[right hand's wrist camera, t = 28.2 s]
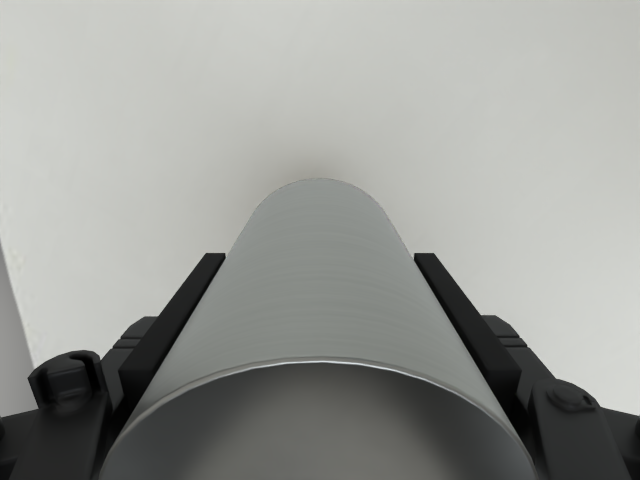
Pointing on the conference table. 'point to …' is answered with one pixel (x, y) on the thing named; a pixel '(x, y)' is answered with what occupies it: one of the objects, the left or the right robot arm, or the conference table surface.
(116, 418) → the right robot arm
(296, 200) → the can
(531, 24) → the conference table surface
